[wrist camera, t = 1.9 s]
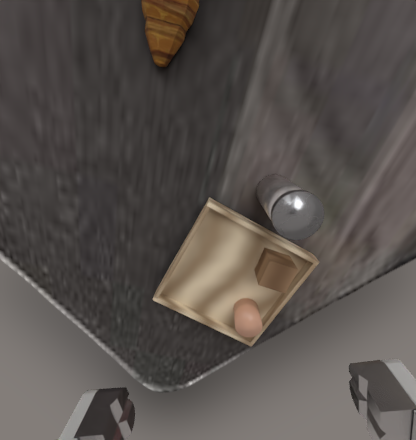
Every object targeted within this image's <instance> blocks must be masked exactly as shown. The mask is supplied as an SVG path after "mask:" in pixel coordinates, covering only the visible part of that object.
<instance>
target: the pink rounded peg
mask: <svg viewBox="0 0 416 440" xmlns="http://www.w3.org/2000/svg"><path fill="white" fill-rule="evenodd" d="M233 310H234V321H235V329H236V332H237V333H238V334H239V335H241V336H243V337H254V336H256V335H258V334H259V333H260V332H261V330H262V327H263V326H262V321H261V317H260V313H259V308H258V305H257V303H256V302H255V301H254V300H252V299H249V298H243V299H240V300H238V301H237V302H236V303H235V304H234V307H233Z"/></svg>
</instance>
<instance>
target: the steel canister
mask: <svg viewBox="0 0 416 440" xmlns="http://www.w3.org/2000/svg"><path fill="white" fill-rule="evenodd" d="M256 195H257V198H258V200H259V202H260V203H261V205H262V207H263V208H264V210H265V211H266V213H267V215H268V216H269V218H270V219H271V221H272V224H273V226H274V228H275V229H276V231H277V232H278V233H279V234H280V235H281V236H283V237H285V238H287V239H291V240H301V239H305V238H307V237H309V236H311V235H313V234H314V233H315V232H316V231H317V230H318V229H319V228H320V226H321V224H322V222H323V219H324V207H323V205H322V203H321V201H320V200H319V199H318V198H317V197H316V196H315V195H313V194H312V193H310V192H308V191H305V190H303V189H302V188H300V187H299V186H297V185H295V184H294V183H292V182H291V181H289V180H288V179H286V178H284V177H283V176H281V175H277V174H272V175H268V176H266V177H264V178H263V179H262V180H261V181H260V182H259V184H258V186H257V189H256Z"/></svg>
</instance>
